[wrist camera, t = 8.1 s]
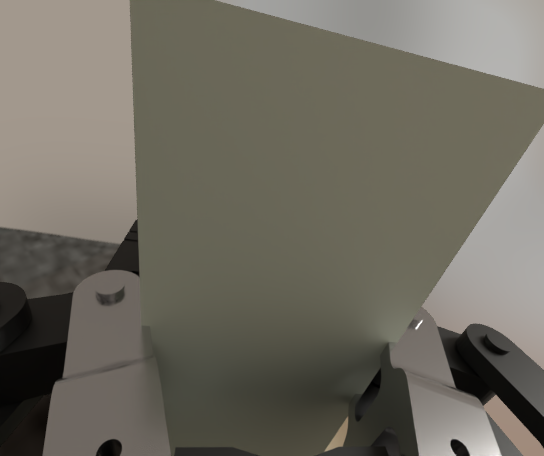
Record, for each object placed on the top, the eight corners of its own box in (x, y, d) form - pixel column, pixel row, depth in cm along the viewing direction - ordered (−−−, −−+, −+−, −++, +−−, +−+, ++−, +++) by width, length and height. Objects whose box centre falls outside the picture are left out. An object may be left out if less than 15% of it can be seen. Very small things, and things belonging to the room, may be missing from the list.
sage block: (147, 507, 10) (129, -22, 3) (176, 367, 14) (199, 18, 7) (290, 501, 11) (562, 93, 4) (277, 372, 15) (389, 67, 8)
